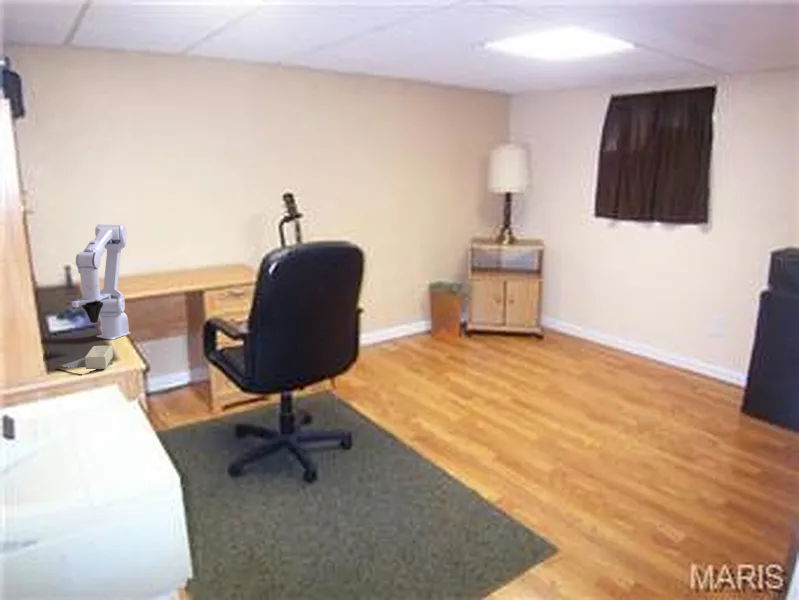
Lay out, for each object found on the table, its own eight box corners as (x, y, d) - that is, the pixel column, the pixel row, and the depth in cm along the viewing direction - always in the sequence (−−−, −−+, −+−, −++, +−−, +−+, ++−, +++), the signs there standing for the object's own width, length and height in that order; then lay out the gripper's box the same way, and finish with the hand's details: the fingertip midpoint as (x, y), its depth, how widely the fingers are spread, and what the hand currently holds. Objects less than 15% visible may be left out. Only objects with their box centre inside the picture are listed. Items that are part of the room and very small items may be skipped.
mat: (87, 358, 200) (87, 356, 200) (113, 363, 195) (112, 362, 195) (56, 369, 189) (55, 367, 189) (82, 375, 185) (82, 373, 184)
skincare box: (94, 357, 199) (84, 370, 188) (93, 345, 198) (83, 357, 186) (114, 356, 201) (105, 369, 189) (112, 344, 199) (104, 356, 188)
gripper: (80, 290, 195) (84, 328, 198) (115, 283, 208) (118, 318, 211) (65, 288, 198) (70, 326, 201) (101, 280, 211) (104, 316, 214)
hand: (94, 322), depth 206 cm, fingers closed
